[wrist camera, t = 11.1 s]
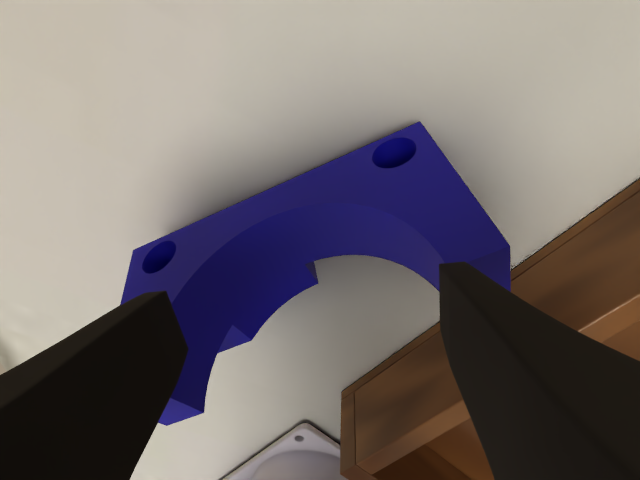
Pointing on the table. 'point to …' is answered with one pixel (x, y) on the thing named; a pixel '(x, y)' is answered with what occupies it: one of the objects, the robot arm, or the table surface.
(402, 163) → the cable clip
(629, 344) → the crate
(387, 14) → the table surface
